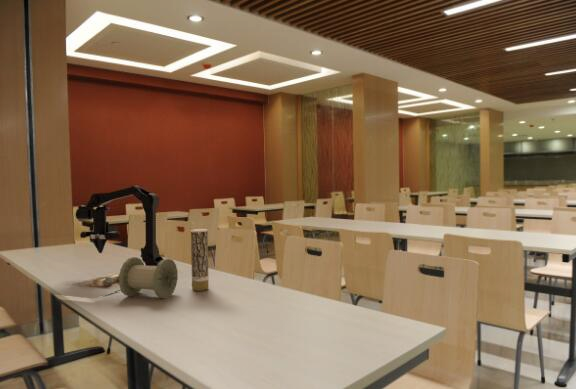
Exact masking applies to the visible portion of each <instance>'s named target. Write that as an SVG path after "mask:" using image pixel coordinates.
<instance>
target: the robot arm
mask: <svg viewBox="0 0 576 389" xmlns="http://www.w3.org/2000/svg"><path fill="white" fill-rule="evenodd" d="M131 196H134V197H135V198H136V199H137V200H139V201H141V205H142V208H143V211H144V213H145V216H144V218H145V223H144V224H145V228H144V229H145V231H144V232H145V244H144V246H142V247H141V248H140V258H141V260H142V262H143V263H144V266H157V265H158V264H159V263H160V261H161V260H164V259H165V258H164V257H162V256H161V255H160V250H159V249H160V248H159V247H158V245H157V211H158V208H159V206H160V205H159V204H160V197H159V195H158V194H156V193H152V192H150V191H148V190H146V189H144V188H143V187H140V185H132V186H130V187H127V188H122V189H118V190H115V191H111V192H99V193H98V192H97V193H92V195H91V196H90V198H89V201H88V202H87V203H86V205H77V206H78V207H77V208H76V211H75V218H76V219H77V220H78V221H91V220H92V222H90V225H91V226H92V227H93V228H92V230H84V231H81V232H80V239H86V238H87V237H90V238H89V240H90V241H91V242H92V244H93V245H94V247H95V248H96V250H97V252H98V254H102V253H103V252H104V248H105V246H106V243H107V241H108V240H113V239H118V238H121V233H120V232H119V231H116V230H117V227H116V226H114V225H110V223H109V221H107V211H111V208H110V207H109V206H108V205H107V204H109V203H112V201H115V200H119V199H123V198H128V197H131Z"/></svg>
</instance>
